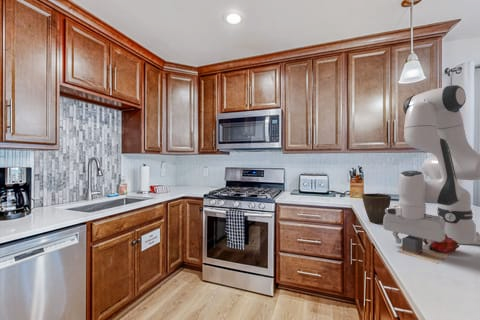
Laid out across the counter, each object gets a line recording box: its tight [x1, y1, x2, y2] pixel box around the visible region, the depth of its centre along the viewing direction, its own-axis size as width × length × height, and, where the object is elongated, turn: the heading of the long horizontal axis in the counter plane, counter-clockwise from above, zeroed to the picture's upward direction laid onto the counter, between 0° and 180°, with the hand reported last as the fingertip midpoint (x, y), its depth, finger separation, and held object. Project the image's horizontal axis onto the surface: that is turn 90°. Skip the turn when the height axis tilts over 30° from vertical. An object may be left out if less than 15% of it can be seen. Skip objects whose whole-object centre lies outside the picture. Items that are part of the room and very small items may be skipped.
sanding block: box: [401, 235, 424, 255], centre depth 93 cm, size 7×4×5 cm, turn 124°
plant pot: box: [361, 193, 392, 225], centre depth 140 cm, size 15×15×16 cm
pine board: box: [396, 248, 450, 264], centre depth 91 cm, size 12×13×2 cm
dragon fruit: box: [423, 234, 460, 254], centre depth 94 cm, size 8×8×12 cm
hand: (411, 246), depth 94 cm, fingers open, 8 cm apart
